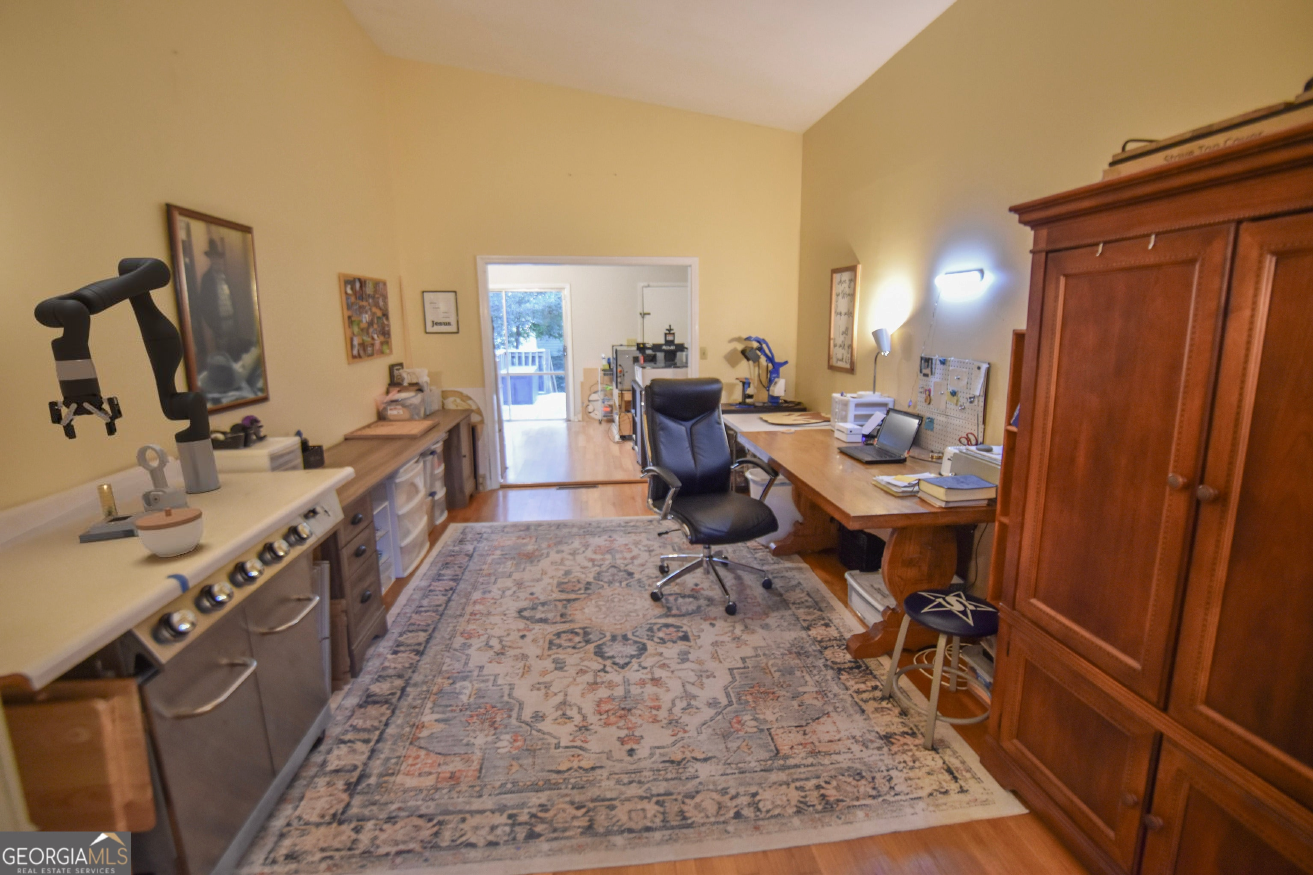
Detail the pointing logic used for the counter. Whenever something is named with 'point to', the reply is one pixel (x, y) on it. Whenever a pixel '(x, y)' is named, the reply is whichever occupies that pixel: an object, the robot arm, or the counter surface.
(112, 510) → the brass pin
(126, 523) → the gray slotted plate
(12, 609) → the counter surface
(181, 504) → the engine component
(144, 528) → the lidded bowl
